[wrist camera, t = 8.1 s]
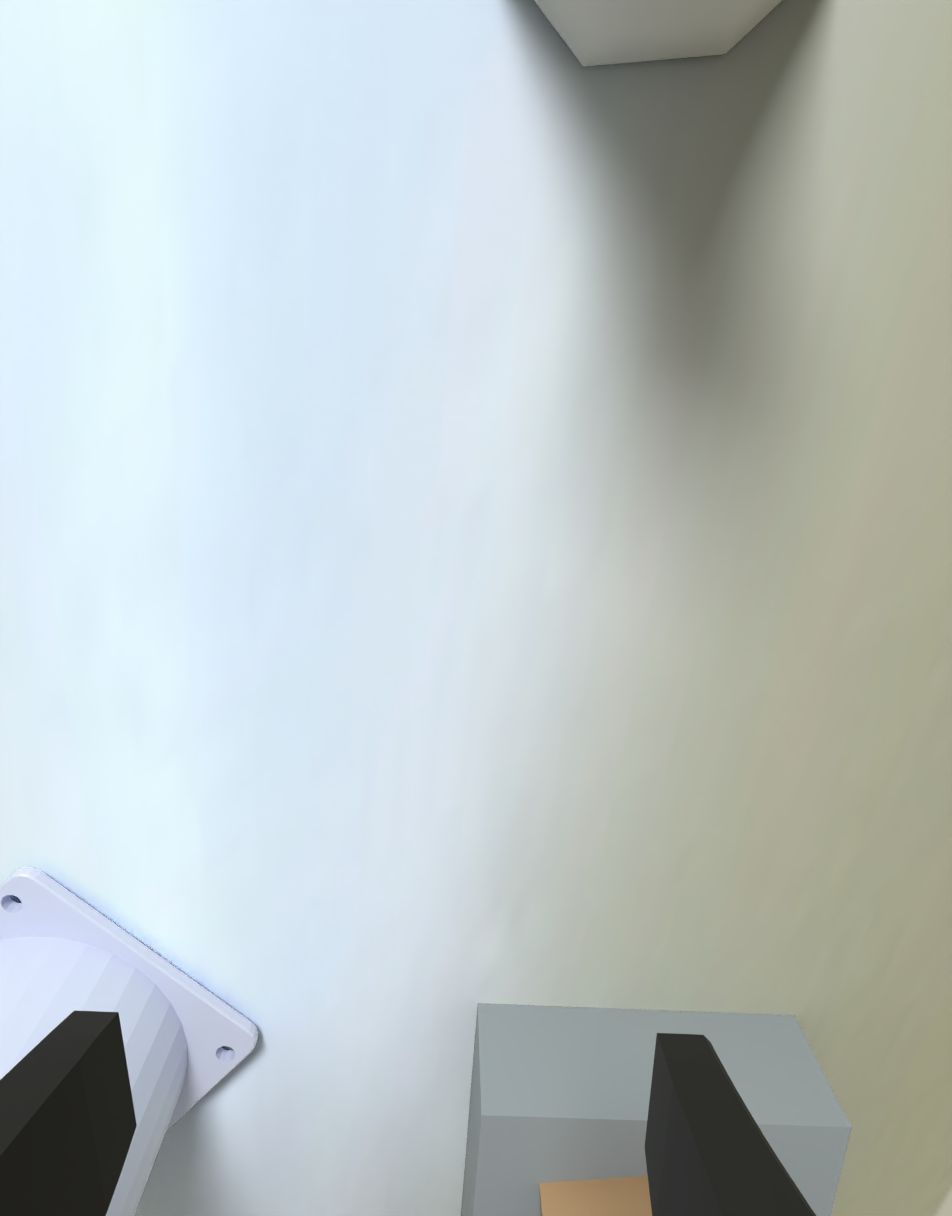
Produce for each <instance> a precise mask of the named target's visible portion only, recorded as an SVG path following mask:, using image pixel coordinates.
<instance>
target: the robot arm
mask: <svg viewBox="0 0 952 1216" xmlns="http://www.w3.org/2000/svg"><path fill="white" fill-rule="evenodd" d="M9 895H14V896H16V897H18V898H19V899H20V900H21V902H22V903H17V902H15V901H13V900H12V899H11V898H10V897H9ZM257 1039H258V1030H257V1027H256V1026H255V1025H254V1024H253V1023H252V1022H251V1021H249V1020H248V1019H247V1018H245V1017H244V1016H242V1015H241V1014H240V1013H238V1012H237V1011H235V1010H234V1009H233V1008H231V1007H230V1006H228V1005H227V1004H226V1003H224V1002H223V1001H222V1000H220V999H219V998H217V997H216V996H215V995H213V994H212V993H210V992H209V991H208V990H206V989H205V988H203V987H202V986H201V985H199V984H198V983H196V982H195V981H194V980H192V979H191V978H189V977H188V976H187V975H185V974H184V973H182V972H181V971H180V970H178V969H177V968H176V967H174V966H173V965H171V964H170V963H169V962H167V961H166V960H164V959H163V958H162V957H160V956H159V955H157V954H156V953H155V952H153V951H152V950H150V949H149V948H148V947H146V946H145V945H143V944H142V943H141V942H139V941H138V940H137V939H135V938H134V937H132V936H131V935H130V934H128V933H127V932H125V931H124V930H123V929H121V928H120V927H118V926H117V925H116V924H114V923H113V922H111V921H110V920H109V919H107V918H106V917H104V916H103V915H102V914H100V913H99V912H98V911H96V910H95V909H93V908H92V907H91V906H89V905H88V904H86V903H85V902H84V901H82V900H81V899H79V898H78V897H77V896H75V895H74V894H72V893H71V892H70V891H68V890H67V889H65V888H64V887H63V886H61V885H60V884H59V883H57V882H56V881H54V880H53V879H52V878H50V877H49V876H47V875H46V874H45V873H43V872H42V871H40V870H38V869H36V868H34V867H22V868H18V869H17V870H15V871H14V872H13V873H12V874H11V875H10V876H9V877H8V878H7V879H6V880H5V882H4V883H3V884H2V885H1V886H0V1216H135V1213H136V1210H137V1208H138V1205H139V1202H140V1200H141V1197H142V1194H143V1192H144V1189H145V1186H146V1184H147V1181H148V1178H149V1176H150V1173H151V1170H152V1168H153V1165H154V1162H155V1160H156V1157H157V1154H158V1152H159V1149H160V1146H161V1144H162V1141H163V1138H164V1135H165V1133H166V1131H167V1130H168V1129H169V1128H170V1127H171V1126H172V1125H173V1124H174V1123H176V1122H177V1121H178V1120H179V1119H180V1118H181V1117H182V1116H183V1115H184V1114H185V1113H186V1112H187V1111H189V1110H190V1109H191V1108H192V1107H193V1106H194V1105H195V1104H196V1103H197V1102H198V1101H199V1100H200V1099H201V1098H203V1097H204V1096H205V1095H206V1094H207V1093H208V1092H209V1091H210V1090H211V1089H212V1088H213V1087H214V1086H215V1085H217V1084H218V1083H219V1082H220V1081H221V1080H222V1079H223V1078H224V1077H225V1076H226V1075H227V1074H228V1073H230V1072H231V1071H232V1070H233V1069H234V1068H235V1067H236V1066H237V1065H238V1064H239V1063H240V1062H241V1061H242V1060H244V1059H245V1058H246V1057H247V1056H248V1055H249V1054H250V1053H251V1052H252V1051H253V1049H254V1048H255V1046H256V1043H257ZM222 1046H228V1047H230V1048H232V1049H233V1050H225V1049H223V1048H222ZM645 1156H646V1165H647V1174H648V1184H649V1193H650V1201H651V1209H652V1216H816V1214H815V1213H814V1212H813V1210H812V1209H811V1207H810V1206H809V1204H808V1203H807V1201H806V1200H805V1198H804V1197H803V1195H802V1194H801V1192H800V1190H799V1189H798V1187H797V1186H796V1184H795V1183H794V1181H793V1180H792V1178H791V1177H790V1175H789V1174H788V1172H787V1171H786V1169H785V1168H784V1166H783V1165H782V1163H781V1162H780V1160H779V1159H778V1157H777V1156H776V1154H775V1152H774V1151H773V1149H772V1148H771V1146H770V1144H769V1143H768V1141H767V1140H766V1138H765V1136H764V1135H763V1133H762V1131H761V1130H760V1128H759V1127H758V1125H757V1123H756V1122H755V1120H754V1118H753V1117H752V1115H751V1113H750V1112H749V1110H748V1108H747V1107H746V1105H745V1103H744V1102H743V1100H742V1098H741V1096H740V1095H739V1093H738V1091H737V1089H736V1088H735V1086H734V1084H733V1082H732V1081H731V1079H730V1077H729V1075H728V1074H727V1072H726V1070H725V1068H724V1066H723V1064H722V1063H721V1061H720V1059H719V1057H718V1055H717V1053H716V1051H715V1049H714V1048H713V1046H712V1044H711V1042H710V1041H709V1040H708V1039H707V1038H706V1037H705V1036H704V1035H699V1034H673V1033H657V1036H656V1045H655V1054H654V1064H653V1073H652V1082H651V1091H650V1101H649V1110H648V1119H647V1128H646V1138H645Z"/></svg>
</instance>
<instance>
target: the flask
mask: <svg viewBox="0 0 952 1216" xmlns="http://www.w3.org/2000/svg"><path fill="white" fill-rule="evenodd" d="M534 1H535V3H536V4H537V5H538V7H539V8H540V9H541V11H542V12H543V13H544V15H545V16H546V17H547V19H548V20H549V21H550V23H551V24H552V25H553V27H554V28H555V29H556V31H557V32H558V34H559V35H560V36H561V38H562V39H563V40H564V42H565V43H566V44H567V46H568V47H569V48H570V50H571V51H572V52H573V54H574V55H575V56H576V58H577V59H578V60H579V62H580V63H581V64H582V66H583V67H585V66H596V65H607V64H619V63H630V62H642V61H653V60H665V59H676V58H688V57H699V56H710V55H722V54H726V53H727V52H728V51H729V50H730V49H732V48H733V47H734V46H735V45H736V44H737V43H738V42H739V41H740V40H741V39H742V38H743V37H744V36H745V35H746V34H747V33H749V32H750V31H751V30H752V29H753V28H754V27H755V26H756V25H757V24H758V23H759V22H760V21H761V20H762V19H763V18H764V17H765V16H767V15H768V14H769V13H770V12H771V11H772V10H773V9H774V8H775V7H776V6H777V5H778V4H779V3H780V2H781V1H782V0H534Z"/></svg>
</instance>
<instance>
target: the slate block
mask: <svg viewBox="0 0 952 1216" xmlns="http://www.w3.org/2000/svg"><path fill="white" fill-rule="evenodd" d="M657 1033H673V1034H699V1035H704V1036H705V1037H706V1038H707V1039H708V1040H709V1041H710V1042H711V1044H712V1046H713V1048H714V1049H715V1051H716V1053H717V1055H718V1057H719V1059H720V1061H721V1063H722V1064H723V1066H724V1068H725V1070H726V1072H727V1074H728V1075H729V1077H730V1079H731V1081H732V1082H733V1084H734V1086H735V1088H736V1089H737V1091H738V1093H739V1095H740V1096H741V1098H742V1100H743V1102H744V1103H745V1105H746V1107H747V1108H748V1110H749V1112H750V1113H751V1115H752V1117H753V1118H754V1120H755V1122H756V1123H757V1125H758V1127H759V1128H760V1130H761V1131H762V1133H763V1135H764V1136H765V1138H766V1140H767V1141H768V1143H769V1144H770V1146H771V1148H772V1149H773V1151H774V1152H775V1154H776V1156H777V1157H778V1159H779V1160H780V1162H781V1163H782V1165H783V1166H784V1168H785V1169H786V1171H787V1172H788V1174H789V1175H790V1177H791V1178H792V1180H793V1181H794V1183H795V1184H796V1186H797V1187H798V1189H799V1190H800V1192H801V1194H802V1195H803V1197H804V1198H805V1200H806V1201H807V1203H808V1204H809V1206H810V1207H811V1209H812V1210H813V1212H814V1213H815V1214H816V1216H830V1215H831V1211H832V1207H833V1203H834V1199H835V1195H836V1191H837V1187H838V1182H839V1178H840V1174H841V1170H842V1166H843V1162H844V1158H845V1153H846V1149H847V1145H848V1141H849V1137H850V1133H851V1129H852V1127H851V1125H850V1123H849V1121H848V1119H847V1117H846V1115H845V1113H844V1111H843V1109H842V1107H841V1105H840V1103H839V1101H838V1099H837V1097H836V1095H835V1093H834V1091H833V1089H832V1087H831V1086H830V1084H829V1082H828V1080H827V1078H826V1076H825V1074H824V1072H823V1070H822V1068H821V1066H820V1064H819V1062H818V1060H817V1058H816V1056H815V1054H814V1052H813V1050H812V1048H811V1046H810V1044H809V1042H808V1041H807V1039H806V1037H805V1035H804V1033H803V1031H802V1029H801V1027H800V1025H799V1023H798V1021H797V1019H796V1017H795V1015H773V1014H746V1013H720V1012H694V1011H667V1010H641V1009H614V1008H588V1007H562V1006H535V1005H509V1004H482V1003H478V1007H477V1019H476V1032H475V1044H474V1057H473V1070H472V1082H471V1095H470V1107H469V1120H468V1133H467V1145H466V1158H465V1170H464V1183H463V1196H462V1208H461V1216H541V1210H540V1191H539V1183H547V1182H562V1181H577V1180H592V1179H606V1178H621V1177H636V1176H648V1174H647V1165H646V1156H645V1138H646V1128H647V1119H648V1110H649V1101H650V1091H651V1082H652V1073H653V1064H654V1054H655V1045H656V1036H657Z"/></svg>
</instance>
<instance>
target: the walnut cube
mask: <svg viewBox="0 0 952 1216" xmlns="http://www.w3.org/2000/svg"><path fill="white" fill-rule="evenodd" d="M539 1191H540V1210H541V1216H652V1209H651V1201H650V1193H649V1184H648V1176H636V1177H621V1178H606V1179H592V1180H577V1181H562V1182H547V1183H539Z"/></svg>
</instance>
